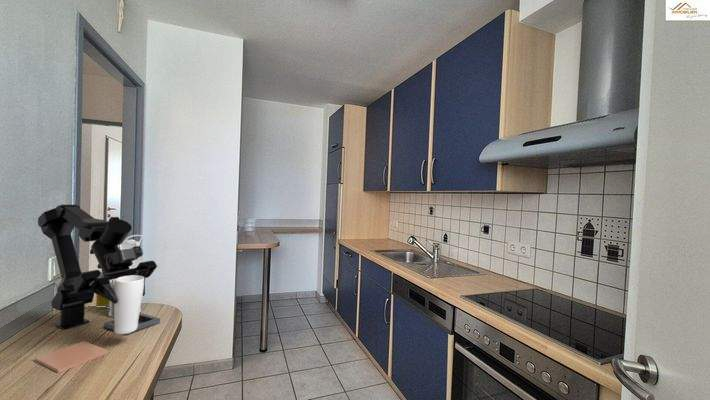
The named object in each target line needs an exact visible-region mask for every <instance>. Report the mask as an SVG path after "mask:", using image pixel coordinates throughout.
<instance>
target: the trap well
mask: <svg viewBox="0 0 710 400" xmlns="http://www.w3.org/2000/svg"><path fill="white" fill-rule="evenodd" d="M159 324H161V318H159V317H157V316H154V315H148V314H145V313H142V312H141V313H140V314H139V319H138V328H137V329H136V330H135V331H134V332H131V333H128V334H122V335H124V336H129V335H132V334H134V333H137V332H140V331H143V330H145V329H149V328H151V327H154V326H156V325H159ZM103 328H104V329H107V330H109V331H111V332H114V319H113V320H109V321H106V322H104V323H103Z"/></svg>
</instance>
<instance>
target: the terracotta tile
mask: <svg viewBox="0 0 710 400" xmlns="http://www.w3.org/2000/svg"><path fill="white" fill-rule="evenodd" d="M108 354H109V350H108V349H105V348H103V347H100V346H97V345H95V344H92V343H91V342H88V341H85V340H83V341H81V342H78V343H75V344H72V345H69V346H66V347H63V348H60V349H57V350H54V351H51V352H48V353H45V354H42V355H39V356H36V357H35V358H34V361H35V362H36V363H39V364H41V365H43V366H45V367H46V368H48V369H51V370H52V371H54V372H55V373H59V374H60V373H62V372H64V371H67V370H70V369H72V368H74V367H76V366H80V365H82V364H85V363H87V362H90V361H92V360H94V359H97V358H100V357H102V356H104V355H108Z"/></svg>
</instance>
